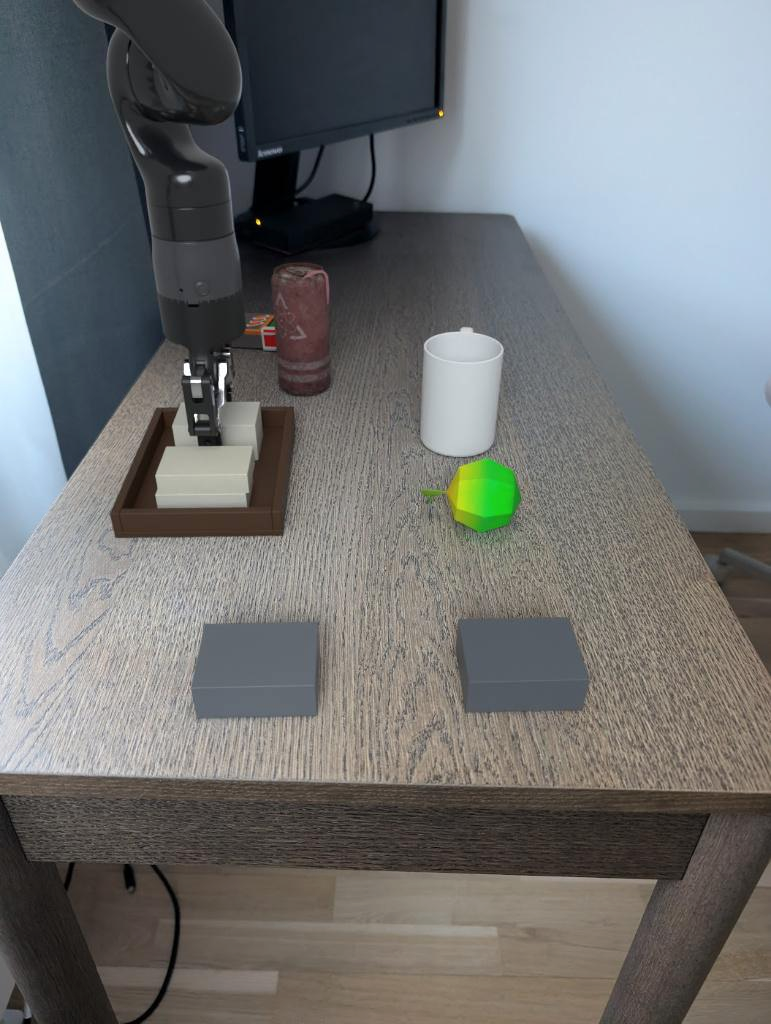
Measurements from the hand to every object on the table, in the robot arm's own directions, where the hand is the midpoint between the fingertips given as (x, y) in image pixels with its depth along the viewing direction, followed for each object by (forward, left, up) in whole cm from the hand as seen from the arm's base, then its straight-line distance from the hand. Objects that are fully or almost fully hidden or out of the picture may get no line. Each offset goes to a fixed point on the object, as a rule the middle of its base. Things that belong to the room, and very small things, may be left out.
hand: (218, 444), depth 78 cm
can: (+8, +16, -2) cm, 18 cm away
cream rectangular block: (0, +1, -1) cm, 1 cm away
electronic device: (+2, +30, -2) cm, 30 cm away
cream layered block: (0, -8, -1) cm, 8 cm away
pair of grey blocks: (+16, -31, -1) cm, 35 cm away
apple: (+24, -12, -2) cm, 27 cm away
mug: (+25, +5, -2) cm, 26 cm away
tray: (0, -4, -1) cm, 4 cm away
